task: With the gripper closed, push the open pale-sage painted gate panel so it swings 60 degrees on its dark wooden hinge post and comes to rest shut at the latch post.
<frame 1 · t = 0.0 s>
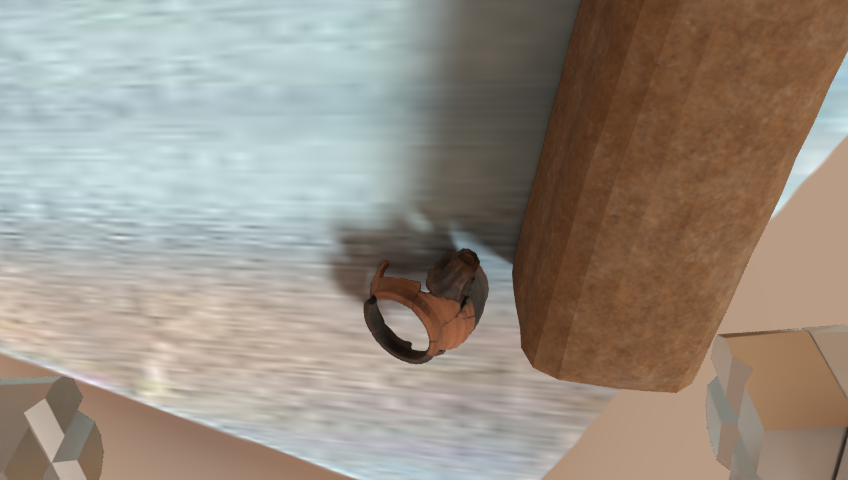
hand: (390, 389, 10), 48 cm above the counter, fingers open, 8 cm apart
bread: (645, 93, 60), on the counter
pottery mug: (435, 273, 70), on the counter
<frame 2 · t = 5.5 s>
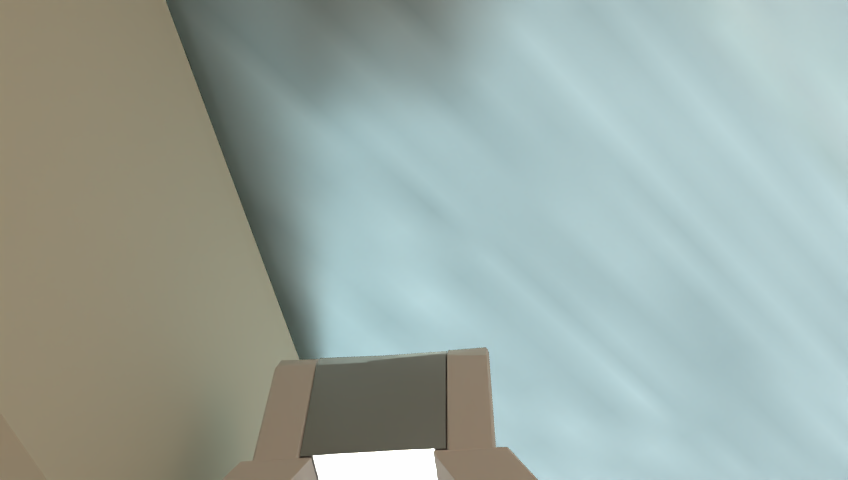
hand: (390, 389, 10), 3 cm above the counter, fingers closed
gate: (5, 76, 8), point 3 cm above the counter, hinge at 58.3°, touching gripper
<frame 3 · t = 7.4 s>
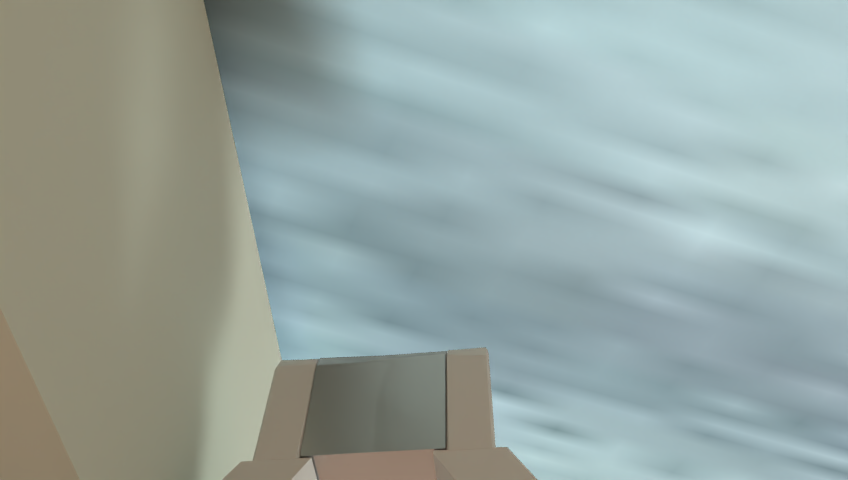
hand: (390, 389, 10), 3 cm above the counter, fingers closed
gate: (55, 56, 8), point 3 cm above the counter, hinge at 21.5°, touching gripper
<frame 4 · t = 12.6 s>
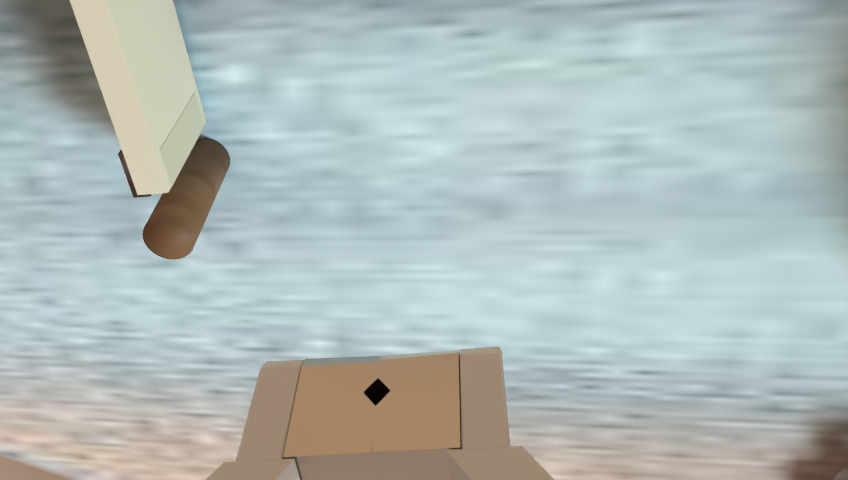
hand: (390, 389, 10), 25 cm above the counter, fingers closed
latch post: (208, 158, 37), on the counter
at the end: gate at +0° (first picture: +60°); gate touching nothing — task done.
